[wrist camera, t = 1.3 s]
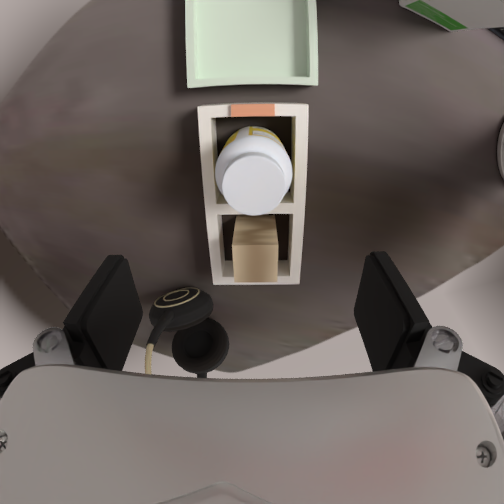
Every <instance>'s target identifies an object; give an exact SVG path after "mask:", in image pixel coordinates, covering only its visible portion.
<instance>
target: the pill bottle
mask: <svg viewBox="0 0 504 504" xmlns="http://www.w3.org/2000/svg"><path fill="white" fill-rule="evenodd" d="M215 178H216V183H217V186H218V188H219V190H220V192H221V193H222V195H223V196H224V198H225V200H226V201H227V203H228V204H229V205H230V206H231V207H232V208H233V209H234V210H236V211H238V212H240V213H242V214H245V215H251V216H256V215H262V214H265V213H268V212H270V211H272V210H273V209H274V208H276V207H277V206H278V205H279V203H280V202H281V200H282V199H283V197H284V195H285V194H286V193H287V191H288V189H289V187H290V184H291V181H292V164H291V161H290V158H289V156H288V154H287V152H286V150H285V148H284V146H283V144H282V143H281V141H280V139H279V138H278V137H277V136H276V135H275V134H274V133H273V132H272V131H270V130H268V129H266V128H264V127H260V126H248V127H244V128H242V129H239V130H238V131H236V132H235V133H234V134H232V135H231V137H230V138H229V139H228V141H227V142H226V144H225V146H224V147H223V149H222V151H221V153H220V155H219V157H218V160H217V162H216V167H215Z"/></svg>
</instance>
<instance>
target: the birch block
mask: <svg viewBox="0 0 504 504" xmlns="http://www.w3.org/2000/svg"><path fill="white" fill-rule="evenodd" d="M232 254H233V269H234V282H277V274H278V238H277V230H276V222H275V215H256V216H236V222H235V228H234V235H233V242H232Z"/></svg>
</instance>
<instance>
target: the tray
mask: <svg viewBox="0 0 504 504" xmlns="http://www.w3.org/2000/svg"><path fill="white" fill-rule="evenodd" d="M185 30H186V66H187V88H200V87H212V86H228V85H260V84H274V85H306V86H318V37H317V9H316V0H185Z"/></svg>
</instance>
